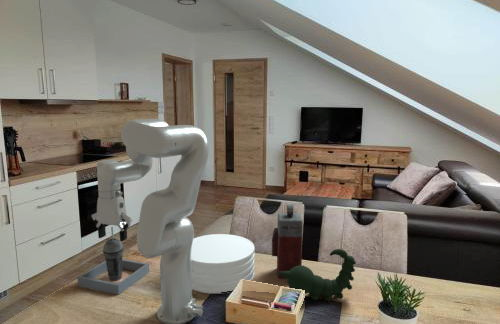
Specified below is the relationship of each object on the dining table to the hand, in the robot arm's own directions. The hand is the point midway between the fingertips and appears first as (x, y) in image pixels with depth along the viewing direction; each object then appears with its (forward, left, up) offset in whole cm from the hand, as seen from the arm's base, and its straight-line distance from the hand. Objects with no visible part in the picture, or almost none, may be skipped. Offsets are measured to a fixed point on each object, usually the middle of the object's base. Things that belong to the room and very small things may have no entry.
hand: (112, 238), depth 134 cm
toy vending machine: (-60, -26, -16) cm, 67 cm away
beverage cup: (0, 0, -16) cm, 16 cm away
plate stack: (-35, -16, -17) cm, 42 cm away
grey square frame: (0, 0, -16) cm, 16 cm away
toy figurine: (-74, -13, -16) cm, 76 cm away
